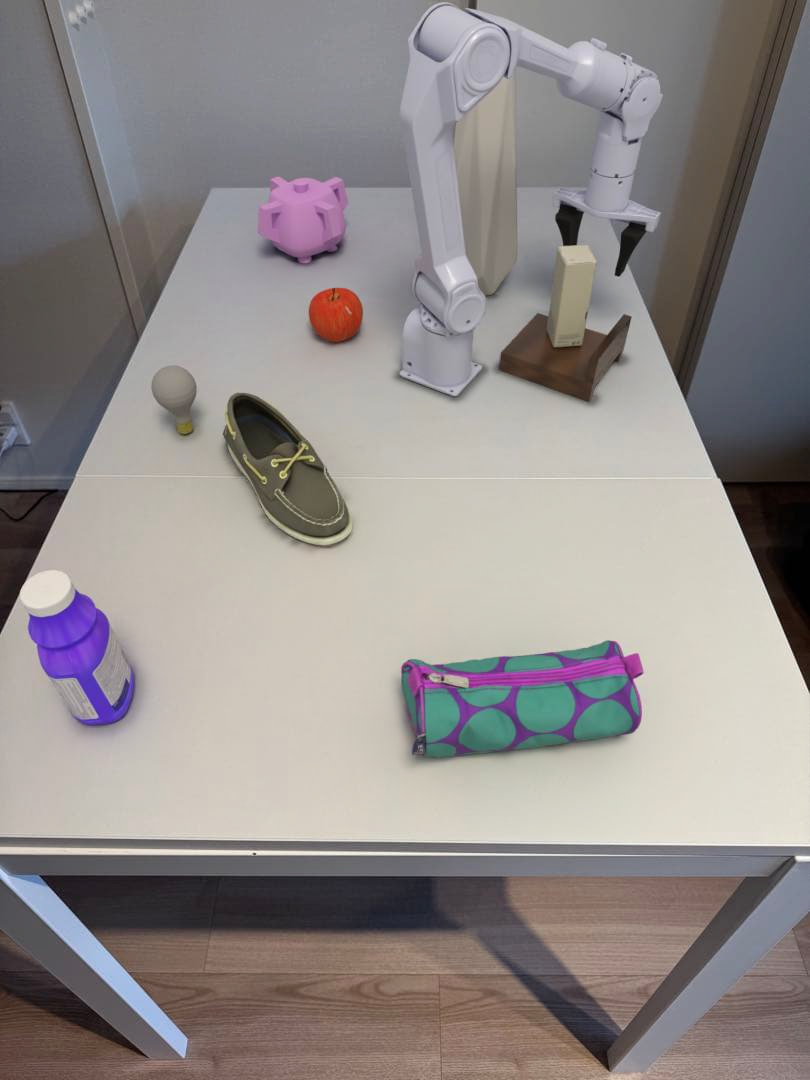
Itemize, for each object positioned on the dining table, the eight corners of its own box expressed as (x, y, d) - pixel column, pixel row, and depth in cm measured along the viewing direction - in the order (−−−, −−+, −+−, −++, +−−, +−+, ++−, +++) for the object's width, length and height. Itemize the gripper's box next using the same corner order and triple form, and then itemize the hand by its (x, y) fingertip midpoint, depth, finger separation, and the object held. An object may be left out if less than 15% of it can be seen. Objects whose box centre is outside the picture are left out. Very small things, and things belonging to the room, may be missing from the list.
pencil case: (412, 779, 70) (412, 729, 63) (400, 694, 76) (399, 639, 69) (633, 752, 72) (658, 700, 64) (605, 671, 77) (625, 615, 70)
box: (582, 347, 109) (599, 262, 100) (552, 349, 109) (565, 264, 100) (573, 326, 113) (589, 243, 103) (544, 328, 113) (556, 244, 103)
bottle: (85, 668, 78) (19, 557, 65) (141, 663, 78) (87, 553, 65) (70, 733, 73) (-4, 628, 60) (130, 728, 74) (70, 622, 61)
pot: (317, 214, 143) (311, 149, 134) (378, 248, 135) (376, 181, 126) (236, 247, 135) (224, 180, 126) (296, 285, 127) (288, 216, 118)
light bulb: (215, 425, 103) (200, 363, 96) (191, 450, 100) (173, 387, 92) (182, 414, 105) (164, 352, 97) (157, 438, 101) (137, 376, 94)
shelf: (498, 370, 111) (503, 327, 106) (535, 329, 118) (540, 288, 112) (589, 402, 106) (598, 359, 101) (621, 358, 113) (631, 316, 107)
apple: (374, 337, 117) (372, 289, 111) (330, 356, 113) (325, 308, 107) (344, 314, 121) (341, 267, 115) (301, 332, 118) (295, 284, 112)
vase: (525, 278, 128) (553, 53, 103) (492, 311, 121) (513, 78, 97) (462, 259, 132) (473, 38, 107) (426, 289, 126) (430, 62, 101)
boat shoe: (366, 538, 90) (363, 493, 84) (290, 567, 87) (281, 523, 81) (288, 418, 104) (281, 373, 98) (220, 440, 101) (209, 395, 96)
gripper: (677, 169, 99) (652, 267, 110) (573, 146, 105) (559, 241, 115) (658, 190, 96) (634, 289, 106) (551, 164, 101) (538, 261, 111)
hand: (594, 265), depth 110 cm, fingers open, 7 cm apart
